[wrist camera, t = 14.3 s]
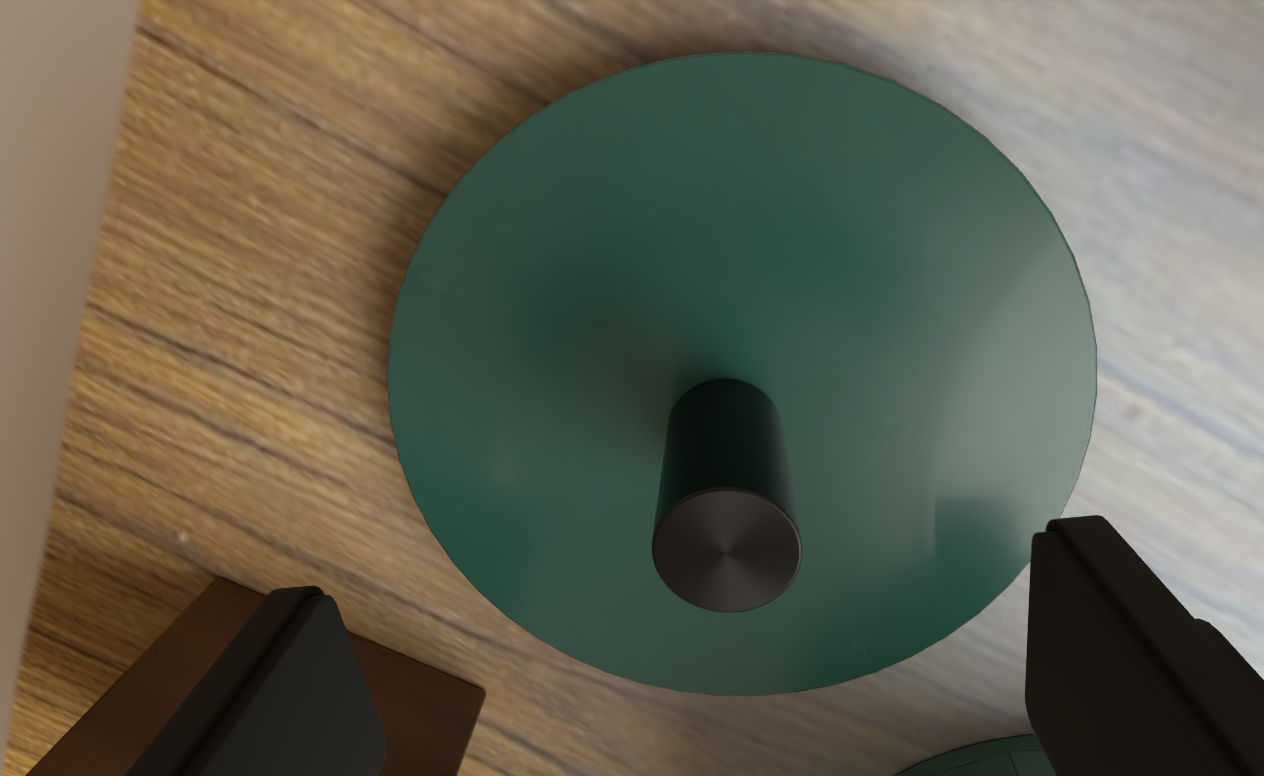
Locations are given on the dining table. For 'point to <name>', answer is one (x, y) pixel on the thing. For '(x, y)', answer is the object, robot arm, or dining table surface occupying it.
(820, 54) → the dining table surface
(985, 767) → the pot
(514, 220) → the lid
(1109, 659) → the robot arm
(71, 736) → the block
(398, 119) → the dining table surface
